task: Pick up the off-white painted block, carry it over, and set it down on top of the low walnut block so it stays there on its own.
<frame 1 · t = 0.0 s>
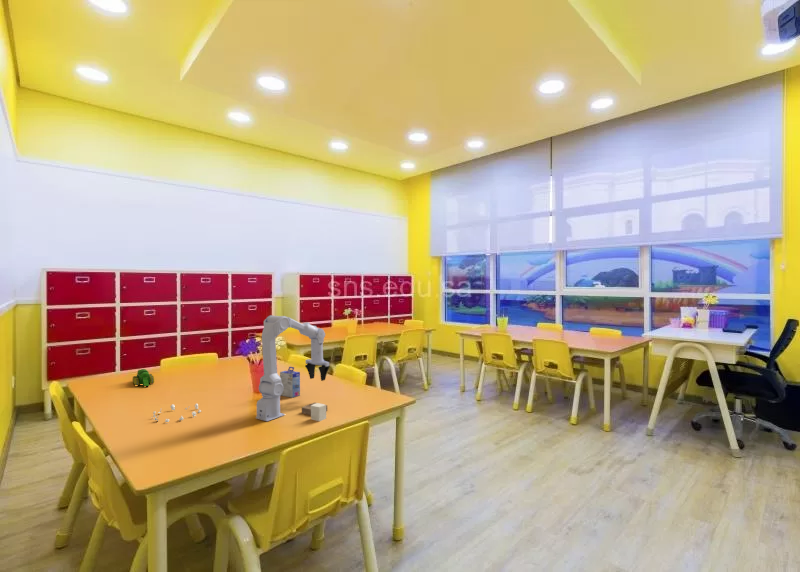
hand: (317, 379, 195), 10 cm above the table, tool pointing down, fingers open, 7 cm apart
ink cartridge box: (290, 395, 204), on the table
walnut base: (314, 412, 177), on the table
offwhite block: (318, 419, 168), on the table
game piece set: (177, 416, 176), on the table
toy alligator: (142, 383, 236), on the table
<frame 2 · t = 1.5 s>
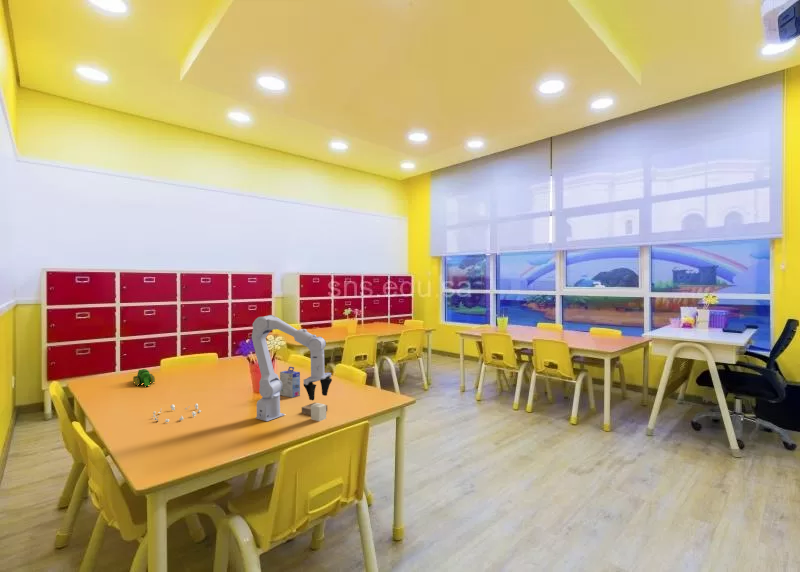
hand: (318, 397, 168), 9 cm above the table, tool pointing down, fingers open, 7 cm apart
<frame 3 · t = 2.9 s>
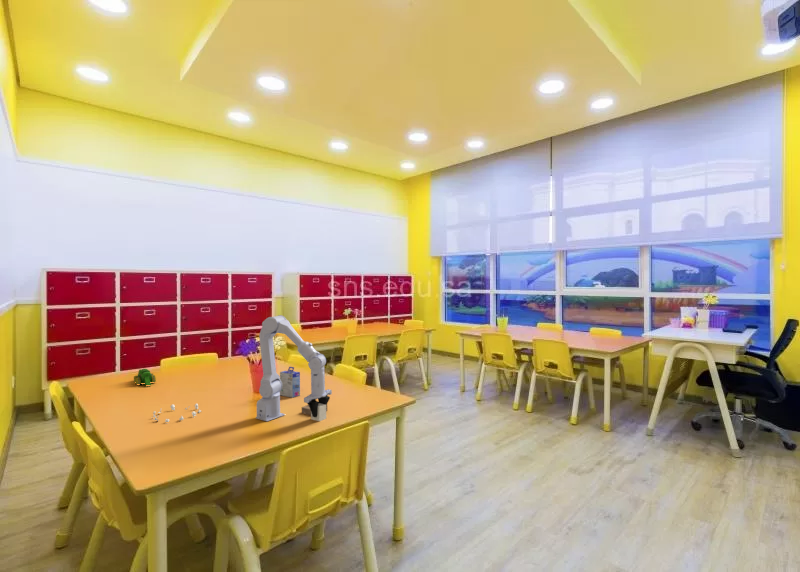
hand: (318, 415, 168), 2 cm above the table, tool pointing down, fingers closed on offwhite block, 4 cm apart
offwhite block: (318, 418, 168), on the table, touching gripper
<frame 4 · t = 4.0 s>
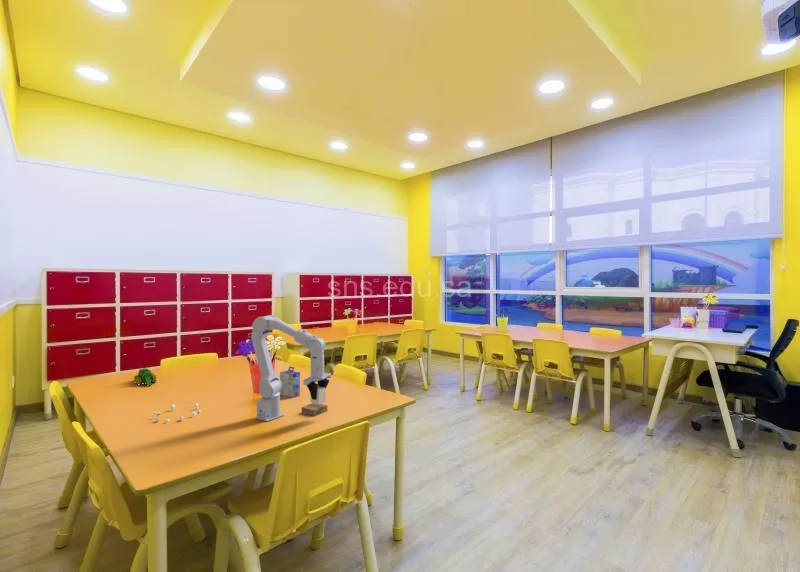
hand: (317, 397, 169), 9 cm above the table, tool pointing down, fingers closed on offwhite block, 4 cm apart
offwhite block: (318, 401, 169), point 7 cm above the table, touching gripper
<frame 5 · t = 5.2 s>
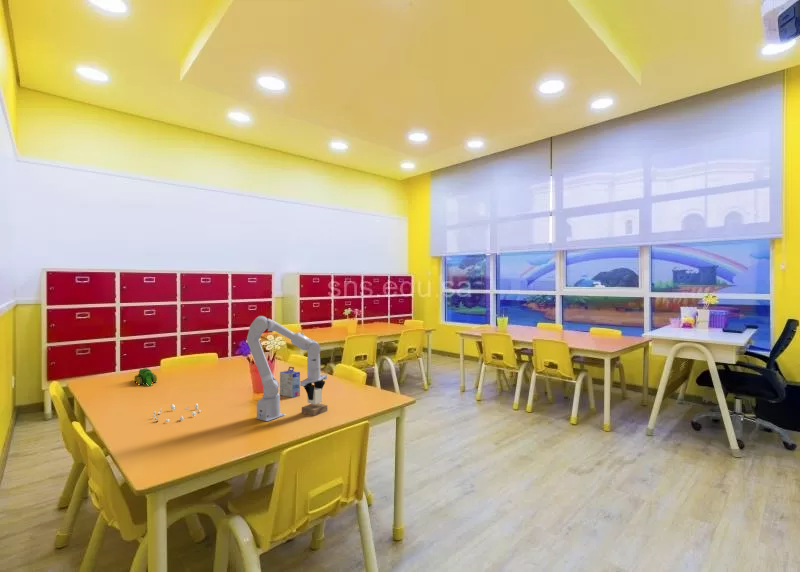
hand: (314, 398, 177), 6 cm above the table, tool pointing down, fingers closed on offwhite block, 4 cm apart
offwhite block: (314, 402, 177), point 4 cm above the table, touching gripper
when the fingers open (6 cm above the table, at t = 5.4 s): offwhite block drops 2 cm, resting on walnut base.
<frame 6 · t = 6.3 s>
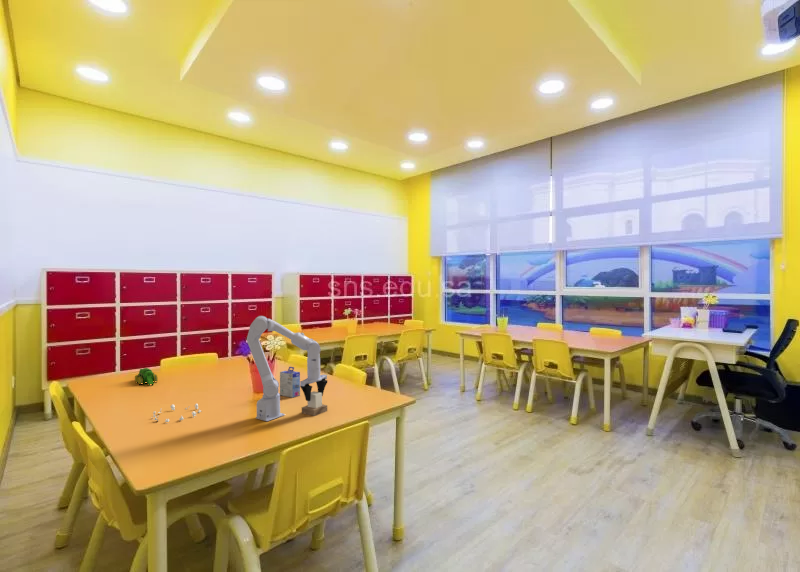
hand: (314, 398, 177), 6 cm above the table, tool pointing down, fingers open, 7 cm apart
walnut base: (314, 412, 177), on the table, touching offwhite block
offwhite block: (314, 406, 177), point 3 cm above the table, touching walnut base
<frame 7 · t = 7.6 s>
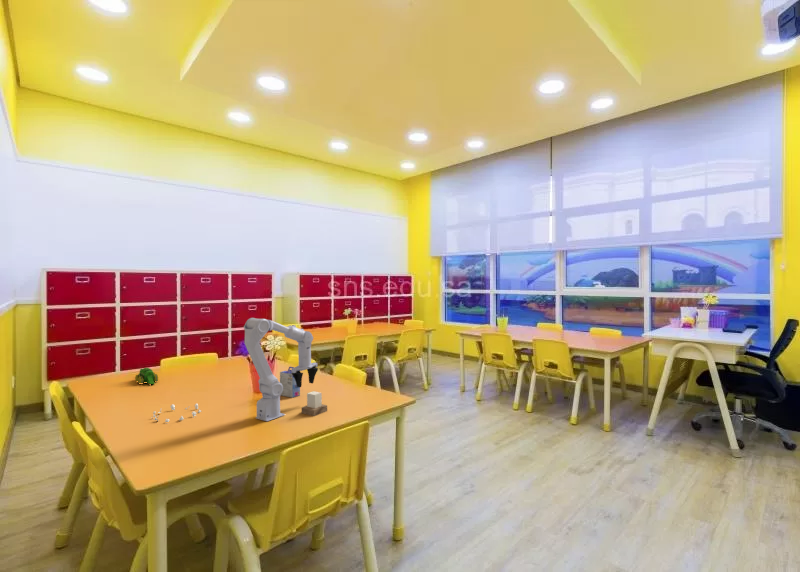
hand: (305, 385, 186), 10 cm above the table, tool pointing down, fingers open, 7 cm apart
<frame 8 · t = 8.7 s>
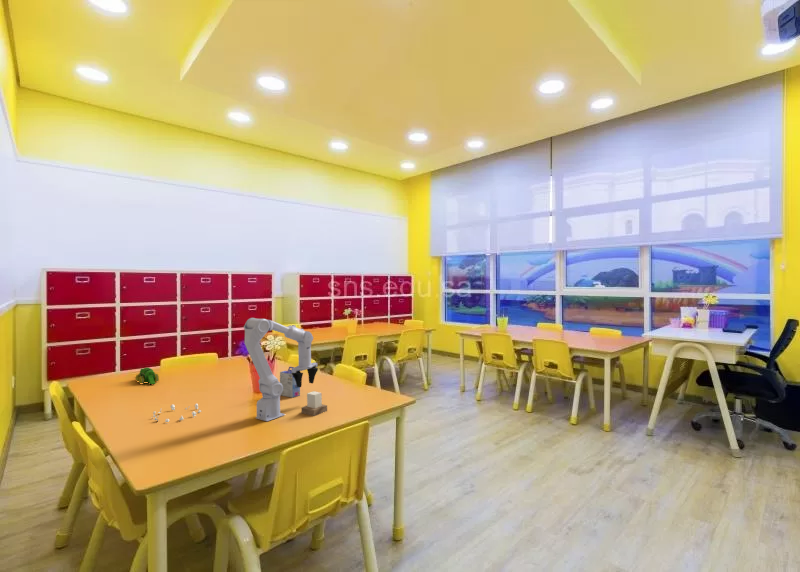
hand: (305, 385, 186), 10 cm above the table, tool pointing down, fingers open, 7 cm apart
at the end: offwhite block 0.2 cm off-centre on the walnut base, point 3.0 cm above the walnut base's base; offwhite block tilted 0°; the gripper is holding nothing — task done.
